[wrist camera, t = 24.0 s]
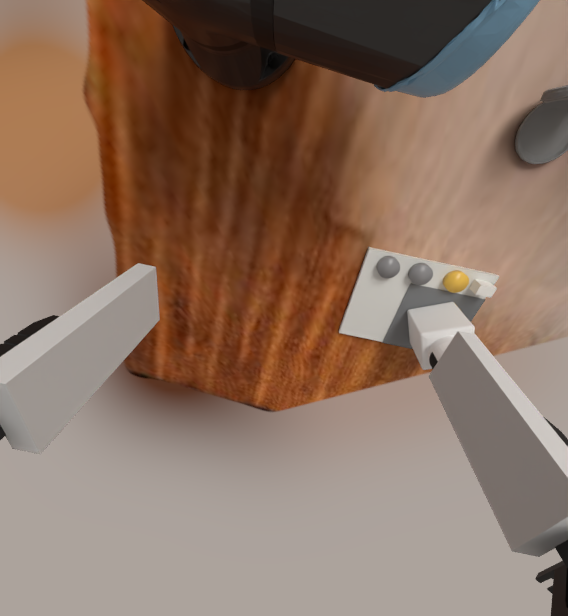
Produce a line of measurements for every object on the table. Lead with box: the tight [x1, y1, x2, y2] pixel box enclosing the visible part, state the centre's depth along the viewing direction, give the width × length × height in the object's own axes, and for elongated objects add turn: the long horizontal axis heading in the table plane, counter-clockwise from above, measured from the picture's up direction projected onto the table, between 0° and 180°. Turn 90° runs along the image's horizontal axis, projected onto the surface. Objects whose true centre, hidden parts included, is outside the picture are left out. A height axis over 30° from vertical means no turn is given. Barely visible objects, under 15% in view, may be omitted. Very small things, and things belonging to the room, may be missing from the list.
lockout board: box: [339, 247, 499, 349], centre depth 45 cm, size 20×16×3 cm
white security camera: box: [407, 302, 475, 370], centre depth 41 cm, size 7×7×12 cm
